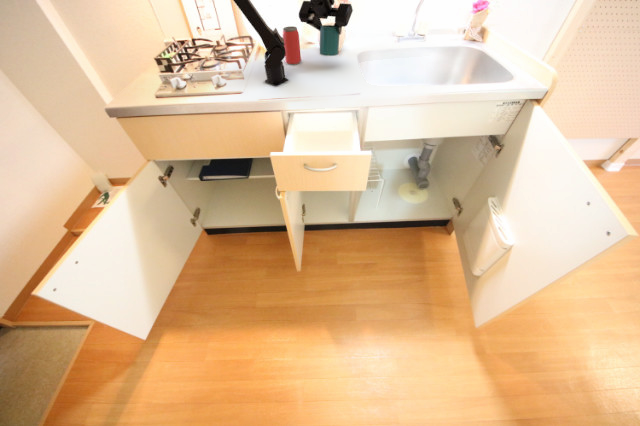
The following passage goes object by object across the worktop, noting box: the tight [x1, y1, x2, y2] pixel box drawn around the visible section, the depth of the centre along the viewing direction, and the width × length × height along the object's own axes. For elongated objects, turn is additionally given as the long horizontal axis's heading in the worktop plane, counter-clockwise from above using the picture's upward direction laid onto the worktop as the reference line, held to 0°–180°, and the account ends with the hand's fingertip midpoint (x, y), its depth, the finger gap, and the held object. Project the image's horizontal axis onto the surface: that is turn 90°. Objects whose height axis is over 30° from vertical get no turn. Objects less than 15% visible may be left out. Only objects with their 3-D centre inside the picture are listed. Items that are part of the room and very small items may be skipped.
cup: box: [316, 22, 346, 52], centre depth 106 cm, size 12×12×10 cm
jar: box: [319, 25, 339, 57], centre depth 91 cm, size 7×7×8 cm
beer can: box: [282, 26, 302, 65], centre depth 99 cm, size 7×7×12 cm
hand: (331, 32), depth 90 cm, fingers closed on jar, 7 cm apart
